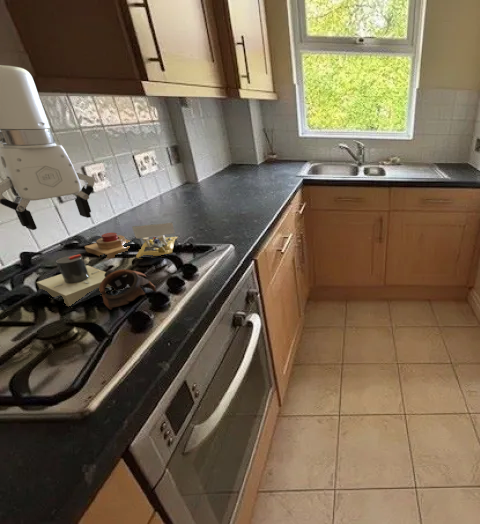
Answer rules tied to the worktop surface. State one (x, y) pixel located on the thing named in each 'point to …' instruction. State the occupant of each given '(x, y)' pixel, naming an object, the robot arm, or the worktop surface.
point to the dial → (73, 268)
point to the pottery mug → (123, 286)
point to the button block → (108, 247)
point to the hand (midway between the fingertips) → (60, 222)
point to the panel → (72, 286)
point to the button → (109, 237)
